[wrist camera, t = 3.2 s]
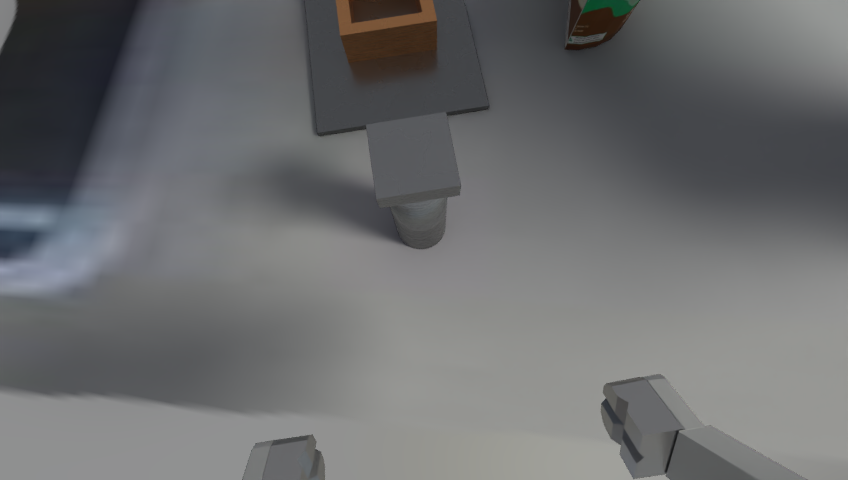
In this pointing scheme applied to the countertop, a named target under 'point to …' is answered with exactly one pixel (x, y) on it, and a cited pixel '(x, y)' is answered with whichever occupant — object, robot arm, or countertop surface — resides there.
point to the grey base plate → (390, 61)
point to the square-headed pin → (414, 174)
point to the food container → (595, 21)
